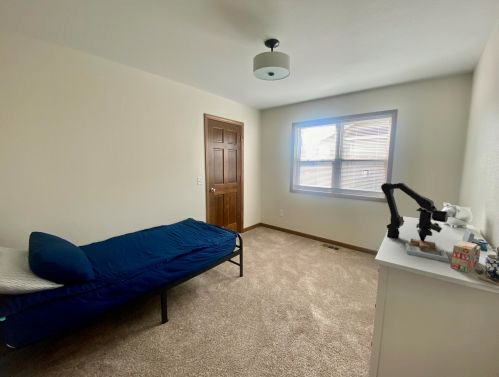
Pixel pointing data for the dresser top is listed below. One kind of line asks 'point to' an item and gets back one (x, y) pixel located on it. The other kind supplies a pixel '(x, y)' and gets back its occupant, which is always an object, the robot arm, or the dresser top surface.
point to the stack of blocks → (465, 256)
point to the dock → (442, 252)
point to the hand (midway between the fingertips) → (422, 242)
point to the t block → (423, 244)
